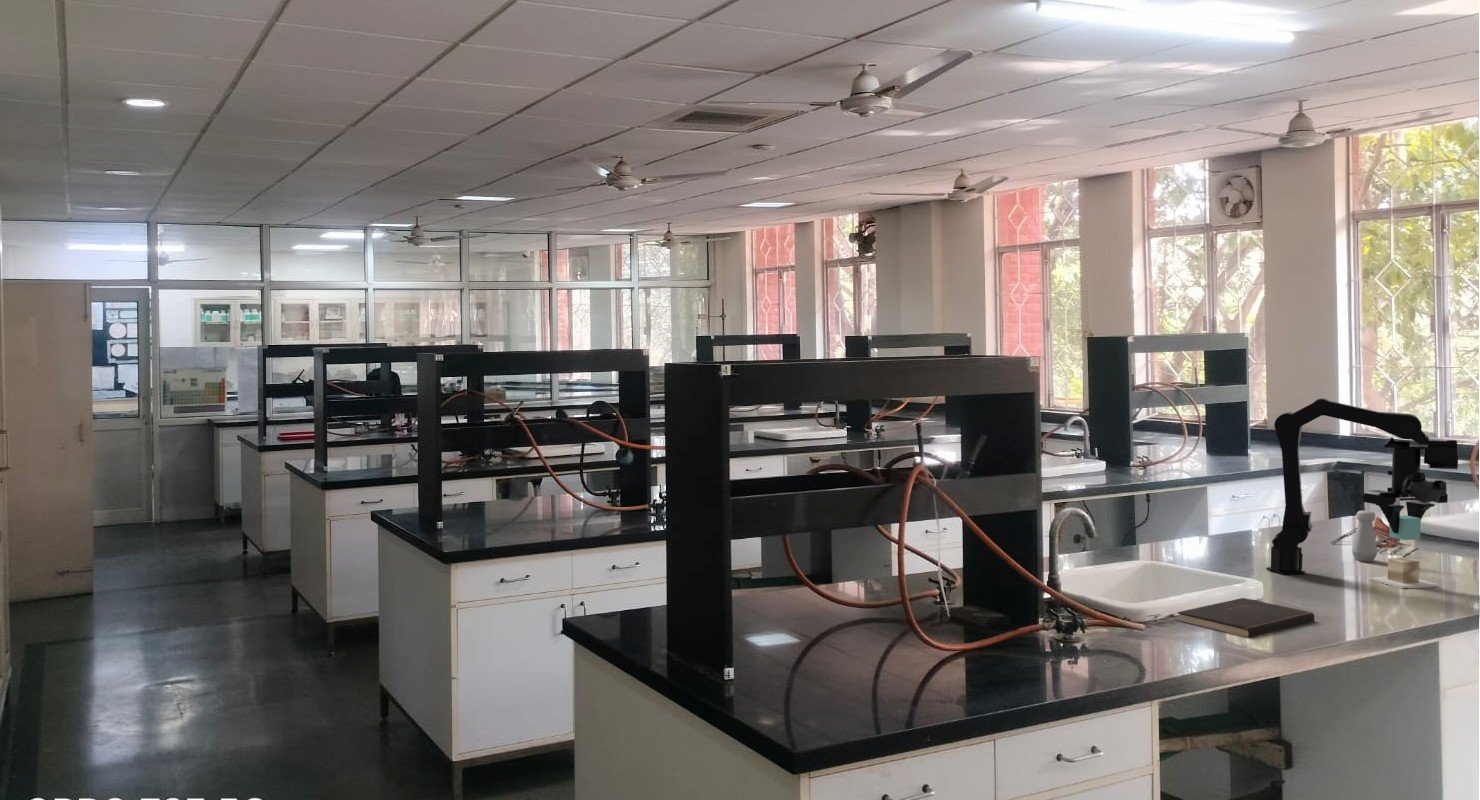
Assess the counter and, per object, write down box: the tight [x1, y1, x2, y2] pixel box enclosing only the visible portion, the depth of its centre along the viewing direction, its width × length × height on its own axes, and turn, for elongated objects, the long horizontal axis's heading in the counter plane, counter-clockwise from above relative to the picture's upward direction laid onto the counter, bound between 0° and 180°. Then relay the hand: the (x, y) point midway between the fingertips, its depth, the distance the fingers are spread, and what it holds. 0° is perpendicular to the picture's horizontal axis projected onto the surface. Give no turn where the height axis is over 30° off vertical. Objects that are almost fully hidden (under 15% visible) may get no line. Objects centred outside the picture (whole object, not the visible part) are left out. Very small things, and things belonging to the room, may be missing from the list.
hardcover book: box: [1177, 597, 1315, 639], centre depth 230 cm, size 16×23×2 cm
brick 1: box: [1388, 514, 1422, 541], centre depth 264 cm, size 4×4×5 cm
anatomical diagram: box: [1330, 516, 1419, 558], centre depth 309 cm, size 21×9×25 cm
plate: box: [1368, 575, 1439, 589], centre depth 265 cm, size 10×10×1 cm
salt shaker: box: [1351, 510, 1378, 563], centre depth 291 cm, size 6×6×13 cm
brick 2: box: [1387, 557, 1420, 583], centre depth 265 cm, size 4×4×5 cm
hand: (1404, 532), depth 264 cm, fingers closed on brick 1, 4 cm apart
